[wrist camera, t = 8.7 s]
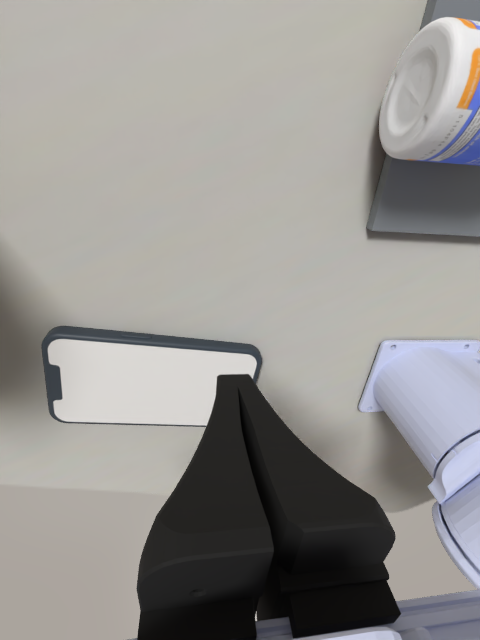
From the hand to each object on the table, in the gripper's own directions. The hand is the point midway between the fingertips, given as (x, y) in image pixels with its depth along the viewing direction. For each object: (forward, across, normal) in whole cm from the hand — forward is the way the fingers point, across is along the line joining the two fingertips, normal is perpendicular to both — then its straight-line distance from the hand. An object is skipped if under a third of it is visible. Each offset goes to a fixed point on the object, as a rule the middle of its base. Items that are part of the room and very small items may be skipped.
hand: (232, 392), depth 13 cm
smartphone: (+11, +4, +8) cm, 14 cm away
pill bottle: (+7, -8, -12) cm, 16 cm away
